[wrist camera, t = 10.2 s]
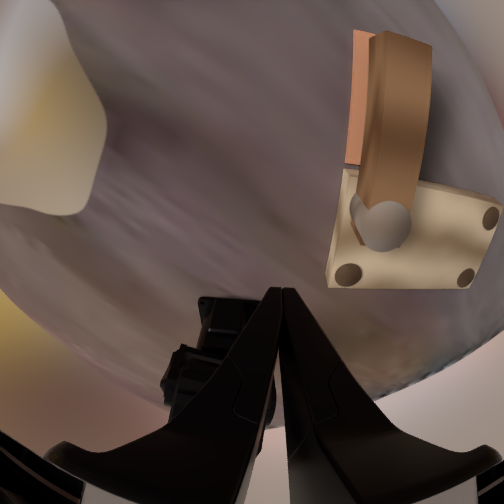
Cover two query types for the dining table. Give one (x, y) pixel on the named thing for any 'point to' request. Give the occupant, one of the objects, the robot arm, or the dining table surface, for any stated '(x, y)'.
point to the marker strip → (358, 96)
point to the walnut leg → (392, 140)
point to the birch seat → (417, 241)
